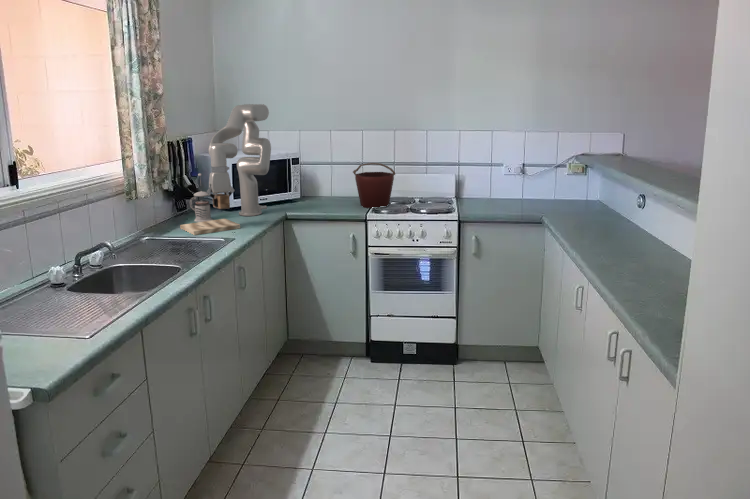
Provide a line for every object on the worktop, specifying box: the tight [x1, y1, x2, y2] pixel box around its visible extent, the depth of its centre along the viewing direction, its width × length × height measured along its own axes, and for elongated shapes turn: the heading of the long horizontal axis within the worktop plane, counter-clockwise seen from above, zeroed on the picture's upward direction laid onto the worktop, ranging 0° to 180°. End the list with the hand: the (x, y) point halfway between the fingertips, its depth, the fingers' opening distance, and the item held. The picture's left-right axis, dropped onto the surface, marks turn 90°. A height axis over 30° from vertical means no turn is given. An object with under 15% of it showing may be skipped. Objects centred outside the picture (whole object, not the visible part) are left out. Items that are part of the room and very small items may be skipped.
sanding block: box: [212, 193, 231, 210], centre depth 313 cm, size 5×9×6 cm, turn 37°
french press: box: [189, 173, 214, 223], centre depth 331 cm, size 10×12×25 cm
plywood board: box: [179, 218, 241, 236], centre depth 313 cm, size 24×18×2 cm
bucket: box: [352, 162, 396, 209], centre depth 366 cm, size 24×22×25 cm
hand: (221, 205), depth 314 cm, fingers closed on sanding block, 5 cm apart
